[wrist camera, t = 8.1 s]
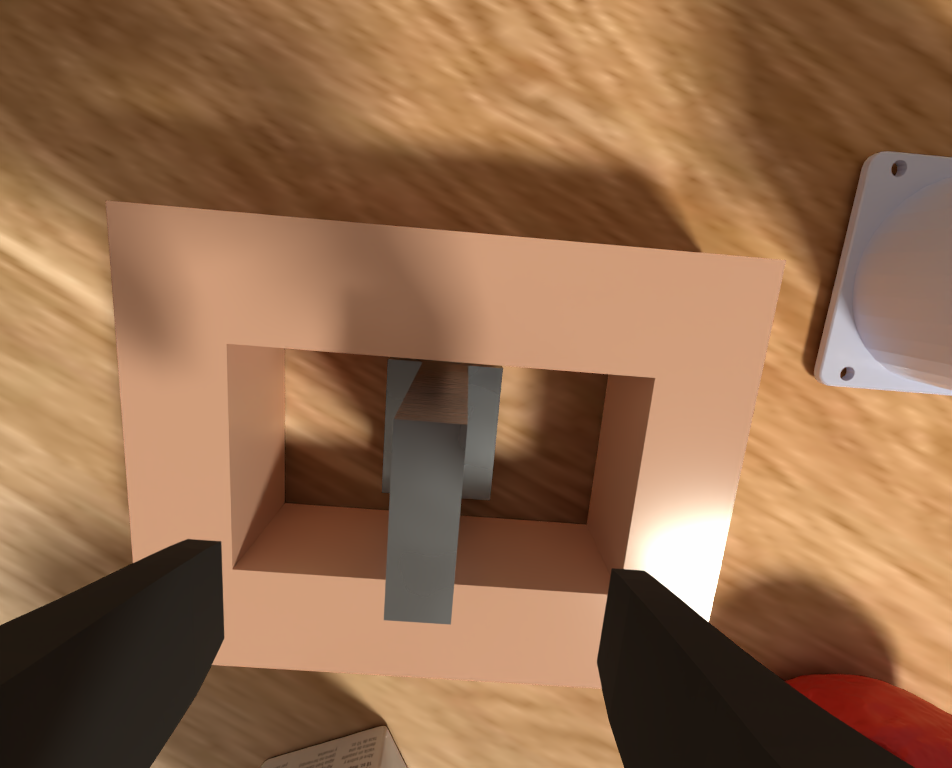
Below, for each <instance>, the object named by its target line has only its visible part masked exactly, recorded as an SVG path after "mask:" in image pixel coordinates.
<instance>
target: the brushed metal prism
mask: <svg viewBox="0 0 952 768" xmlns="http://www.w3.org/2000/svg"><path fill="white" fill-rule="evenodd" d="M502 372H503V367H502V366H499V365H487V364H474V363H462V362H449V361H437V360H424V359H412V358H399V357H389V359H388V368H387V390H386V412H385V434H384V456H383V478H382V493H390V502H389V522H388V542H387V563H386V583H385V603H384V620H388V621H403V622H419V623H434V624H450V625H451V617H452V605H453V593H454V581H455V569H456V557H457V545H458V533H459V521H460V509H461V498H464V499H478V500H490V495H491V485H492V475H493V464H494V454H495V444H496V433H497V423H498V413H499V402H500V392H501V382H502Z"/></svg>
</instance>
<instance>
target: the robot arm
mask: <svg viewBox="0 0 952 768" xmlns="http://www.w3.org/2000/svg"><path fill="white" fill-rule="evenodd" d="M893 163H895V164H896V166H897V173H896V175H895V176H893V174H892V172H891V167H892V165H893ZM845 367H846V368H847V372H846V374H845V376H844V377H842V378H841V377H840V373H841V371H842V369H844V368H845ZM814 376H815V379H816V380H817V381H818V382H819V383H822V384H826V385H829V386H839V387H852V388H864V389H877V390H889V391H902V392H914V393H927V394H939V395H951V396H952V157H943V156H933V155H922V154H912V153H901V152H891V151H885V152H879V153H876V154H873V155H871V156H870V157H868V158H867V160H866V161H865V162H864V164H863V167H862V170H861V174H860V178H859V183H858V187H857V191H856V195H855V199H854V204H853V208H852V212H851V216H850V220H849V225H848V229H847V233H846V237H845V242H844V246H843V250H842V254H841V258H840V263H839V267H838V271H837V275H836V280H835V284H834V288H833V292H832V296H831V301H830V305H829V309H828V313H827V318H826V322H825V326H824V330H823V334H822V339H821V343H820V347H819V351H818V356H817V360H816V364H815V368H814ZM223 640H224V608H223V576H222V545H221V541H209V540H195V539H186V540H184V541H181V542H179V543H176V544H174V545H171V546H169V547H167V548H164V549H162V550H160V551H158V552H156V553H154V554H151V555H149V556H147V557H145V558H143V559H141V560H139V561H137V562H135V563H133V564H130V565H128V566H126V567H124V568H122V569H120V570H118V571H116V572H114V573H112V574H110V575H108V576H106V577H104V578H102V579H99V580H97V581H95V582H93V583H91V584H89V585H87V586H85V587H83V588H81V589H79V590H77V591H75V592H72V593H70V594H68V595H66V596H64V597H62V598H60V599H58V600H56V601H53V602H51V603H49V604H47V605H44V606H42V607H40V608H38V609H36V610H33V611H31V612H29V613H27V614H24V615H22V616H20V617H18V618H16V619H13V620H11V621H9V622H7V623H4V624H2V625H0V768H150V767H151V765H152V763H153V762H154V760H155V759H156V757H157V756H158V754H159V753H160V751H161V750H162V748H163V747H164V745H165V744H166V742H167V740H168V739H169V737H170V736H171V734H172V733H173V731H174V730H175V728H176V726H177V725H178V723H179V722H180V720H181V719H182V717H183V716H184V714H185V712H186V711H187V709H188V708H189V706H190V705H191V703H192V701H193V700H194V698H195V697H196V695H197V693H198V691H199V689H200V687H201V685H202V683H203V681H204V679H205V677H206V675H207V674H208V672H209V670H210V668H211V665H212V663H213V661H214V659H215V657H216V655H217V653H218V651H219V649H220V647H221V645H222V642H223ZM597 666H598V671H599V676H600V681H601V686H602V691H603V696H604V700H605V705H606V709H607V714H608V719H609V722H610V725H611V728H612V731H613V735H614V738H615V741H616V744H617V747H618V750H619V753H620V756H621V759H622V762H623V765H624V768H915V767H913V766H912V765H910V764H908V763H907V762H905V761H903V760H902V759H900V758H898V757H897V756H895V755H894V754H892V753H890V752H889V751H887V750H885V749H884V748H882V747H881V746H879V745H878V744H876V743H875V742H873V741H872V740H870V739H868V738H867V737H865V736H864V735H862V734H861V733H859V732H858V731H856V730H855V729H853V728H852V727H850V726H849V725H847V724H845V723H844V722H842V721H841V720H839V719H838V718H836V717H835V716H833V715H832V714H830V713H829V712H827V711H826V710H824V709H823V708H821V707H820V706H818V705H817V704H816V703H814V702H813V701H811V700H810V699H808V698H807V697H806V696H804V695H803V694H801V693H800V692H799V691H797V690H796V689H795V688H793V687H792V686H790V685H789V684H788V683H786V682H785V681H784V680H782V679H781V678H780V677H778V676H777V675H775V674H774V673H773V672H771V671H770V670H769V669H767V668H766V667H765V666H763V665H762V664H761V663H759V662H758V661H757V660H755V659H754V658H753V657H752V656H750V655H749V654H748V653H746V652H745V651H744V650H743V649H741V648H740V647H739V646H737V645H736V644H735V643H734V642H732V641H731V640H730V639H729V638H727V637H726V636H725V635H724V634H722V633H721V632H720V631H719V630H718V629H716V628H715V627H714V626H713V625H711V624H710V623H709V622H708V621H707V620H705V619H704V618H703V617H702V616H700V615H699V614H698V613H697V612H696V611H694V610H693V609H692V608H691V607H690V606H688V605H687V604H686V603H685V602H684V601H682V600H681V599H680V598H679V597H677V596H676V595H675V594H674V593H673V592H671V591H670V590H669V589H668V588H667V587H665V586H664V585H663V584H662V583H660V582H659V581H658V580H656V579H655V578H654V577H653V576H651V575H650V574H648V573H647V572H646V571H644V570H629V569H615V568H612V570H611V576H610V582H609V589H608V595H607V601H606V607H605V613H604V620H603V626H602V632H601V638H600V645H599V651H598V657H597Z"/></svg>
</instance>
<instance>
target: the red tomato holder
mask: <svg viewBox="0 0 952 768" xmlns="http://www.w3.org/2000/svg"><path fill="white" fill-rule="evenodd" d="M785 682H786V683H788V684H789V685H790V686H792V687H793V688H795V689H796V690H797V691H799V692H800V693H801V694H803V695H804V696H806V697H807V698H808V699H810V700H811V701H813V702H814V703H816V704H817V705H818V706H820V707H821V708H823V709H824V710H826V711H827V712H829V713H830V714H832V715H833V716H835V717H836V718H838V719H839V720H841V721H842V722H844V723H845V724H847V725H849V726H850V727H852V728H853V729H855V730H856V731H858V732H859V733H861V734H862V735H864V736H865V737H867V738H868V739H870V740H872V741H873V742H875V743H876V744H878V745H879V746H881V747H882V748H884V749H885V750H887V751H889V752H890V753H892V754H894V755H895V756H897V757H898V758H900V759H902V760H903V761H905V762H907V763H908V764H910V765H912V766H913V767H915V768H952V715H951V714H949V713H947V712H945V711H943V710H941V709H939V708H937V707H936V706H934V705H933V704H931V703H929V702H927V701H925V700H923V699H921V698H919V697H917V696H916V695H914V694H912V693H910V692H908V691H906V690H903V689H901V688H898V687H896V686H893V685H891V684H889V683H886V682H884V681H881V680H877V679H873V678H869V677H865V676H859V675H846V674H825V675H823V674H813V675H803V676H799V677H796V678H794V679H790V680H787V681H785Z"/></svg>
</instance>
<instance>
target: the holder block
mask: <svg viewBox="0 0 952 768" xmlns="http://www.w3.org/2000/svg"><path fill="white" fill-rule="evenodd" d="M106 212H107V225H108V238H109V252H110V265H111V278H112V292H113V305H114V318H115V331H116V345H117V358H118V371H119V384H120V398H121V411H122V424H123V437H124V451H125V464H126V477H127V491H128V504H129V517H130V530H131V544H132V557H133V563H135V562H137V561H139V560H141V559H143V558H145V557H147V556H149V555H151V554H154V553H156V552H158V551H160V550H162V549H164V548H167V547H169V546H171V545H174V544H176V543H179V542H181V541H184V540H186V539H195V540H209V541H221V545H222V576H223V608H224V640H223V642H222V645H221V647H220V649H219V651H218V653H217V655H216V657H215V659H214V661H213V663H212V665H221V666H238V667H254V668H270V669H287V670H303V671H320V672H336V673H352V674H369V675H385V676H401V677H418V678H434V679H451V680H467V681H483V682H500V683H516V684H532V685H549V686H565V687H582V688H598V689H602V686H601V681H600V676H599V671H598V666H597V657H598V651H599V645H600V638H601V632H602V626H603V620H604V613H605V607H606V601H607V595H608V589H609V582H610V576H611V570H612V568H615V569H629V570H644V571H646V572H647V573H648V574H650V575H651V576H653V577H654V578H655V579H656V580H658V581H659V582H660V583H662V584H663V585H664V586H665V587H667V588H668V589H669V590H670V591H671V592H673V593H674V594H675V595H676V596H677V597H679V598H680V599H681V600H682V601H684V602H685V603H686V604H687V605H688V606H690V607H691V608H692V609H693V610H694V611H696V612H697V613H698V614H699V615H700V616H702V617H703V618H704V619H705V620H707V621H708V622H709V619H710V614H711V609H712V604H713V600H714V595H715V590H716V586H717V581H718V576H719V572H720V567H721V562H722V558H723V553H724V548H725V544H726V539H727V534H728V530H729V525H730V520H731V516H732V511H733V506H734V502H735V497H736V492H737V488H738V483H739V478H740V474H741V469H742V464H743V460H744V455H745V450H746V446H747V441H748V436H749V431H750V427H751V422H752V417H753V413H754V408H755V403H756V399H757V394H758V389H759V385H760V380H761V375H762V371H763V366H764V361H765V357H766V352H767V347H768V343H769V338H770V333H771V329H772V324H773V319H774V315H775V310H776V305H777V301H778V296H779V291H780V287H781V282H782V277H783V273H784V268H785V263H786V260H778V259H767V258H755V257H744V256H732V255H721V254H710V253H698V252H687V251H676V250H664V249H653V248H641V247H630V246H619V245H607V244H596V243H585V242H573V241H562V240H550V239H539V238H528V237H516V236H505V235H493V234H482V233H471V232H459V231H448V230H437V229H425V228H414V227H402V226H391V225H380V224H368V223H357V222H346V221H334V220H323V219H311V218H300V217H289V216H277V215H266V214H255V213H243V212H232V211H220V210H209V209H198V208H186V207H175V206H163V205H152V204H141V203H129V202H118V201H107V200H106ZM285 348H287V349H299V350H312V351H324V352H337V353H349V354H362V355H374V356H387V357H399V358H412V359H424V360H437V361H449V362H462V363H474V364H487V365H499V366H512V367H524V368H537V369H549V370H562V371H574V372H587V373H599V374H609V375H608V381H607V388H606V395H605V402H604V409H603V416H602V423H601V430H600V437H599V444H598V450H597V457H596V464H595V471H594V478H593V485H592V492H591V499H590V506H589V513H588V519H587V524H573V523H559V522H545V521H531V520H517V519H503V518H489V517H475V516H461V515H460V521H459V533H458V545H457V557H456V569H455V581H454V593H453V605H452V617H451V625H450V624H434V623H419V622H403V621H388V620H384V603H385V583H386V563H387V542H388V522H389V510H376V509H362V508H348V507H334V506H320V505H305V504H291V503H285Z"/></svg>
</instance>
